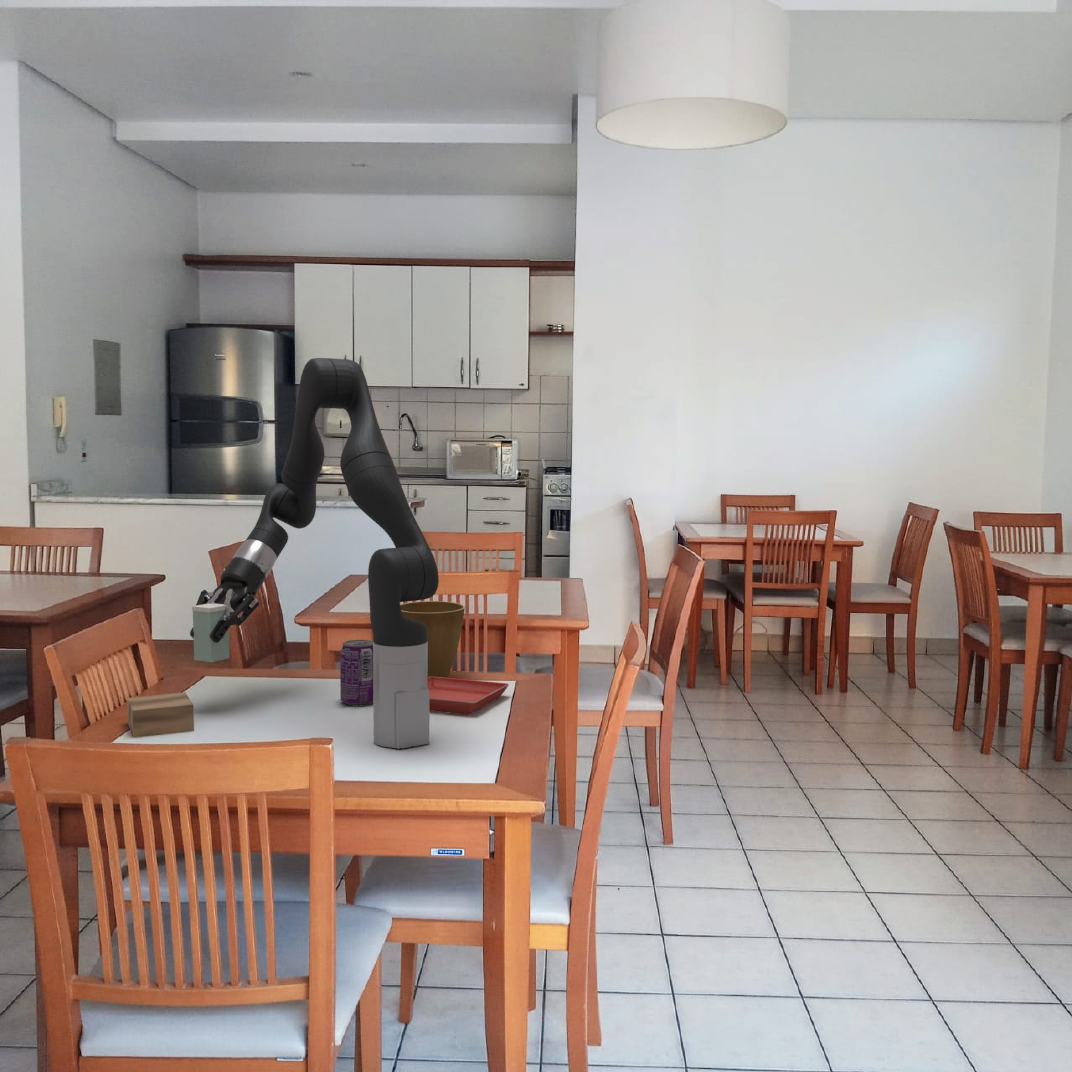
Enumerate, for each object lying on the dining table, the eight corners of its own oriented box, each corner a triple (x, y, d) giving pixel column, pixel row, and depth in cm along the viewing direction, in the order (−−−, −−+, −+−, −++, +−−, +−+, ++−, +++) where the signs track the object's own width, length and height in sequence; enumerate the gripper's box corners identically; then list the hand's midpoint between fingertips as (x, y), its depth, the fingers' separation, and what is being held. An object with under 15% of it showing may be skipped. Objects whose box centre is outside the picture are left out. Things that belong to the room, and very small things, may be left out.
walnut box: (194, 732, 182) (193, 704, 181) (133, 739, 177) (132, 710, 177) (185, 718, 191) (185, 692, 190) (127, 724, 186) (127, 697, 186)
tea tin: (230, 657, 195) (229, 604, 194) (211, 662, 190) (210, 608, 190) (212, 655, 197) (211, 603, 196) (193, 659, 193) (191, 606, 192)
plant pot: (388, 674, 228) (388, 602, 227) (453, 669, 233) (453, 599, 232) (404, 689, 214) (404, 613, 213) (473, 684, 219) (473, 609, 218)
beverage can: (381, 698, 206) (380, 639, 205) (371, 707, 199) (371, 646, 198) (346, 697, 206) (345, 638, 205) (336, 706, 199) (335, 645, 198)
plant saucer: (429, 690, 215) (429, 674, 215) (510, 698, 209) (510, 682, 208) (388, 710, 198) (388, 694, 198) (474, 720, 192) (474, 702, 192)
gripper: (212, 554, 202) (164, 623, 192) (266, 557, 195) (220, 630, 186) (232, 578, 207) (187, 647, 198) (286, 582, 200) (242, 654, 191)
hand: (203, 638), depth 192 cm, fingers closed on tea tin, 4 cm apart
